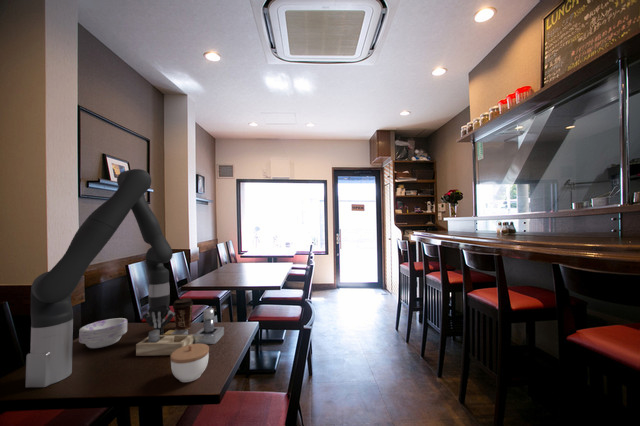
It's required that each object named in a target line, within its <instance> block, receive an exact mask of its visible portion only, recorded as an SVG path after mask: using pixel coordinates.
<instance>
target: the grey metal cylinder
mask: <svg viewBox="0 0 640 426" xmlns="http://www.w3.org/2000/svg"><path fill="white" fill-rule="evenodd" d="M203 327H204V334H213V333H214V327H215V308H213V307H210V308H208V307H207V308H205V309H203Z"/></svg>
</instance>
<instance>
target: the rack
mask: <svg viewBox="0 0 640 426" xmlns="http://www.w3.org/2000/svg"><path fill="white" fill-rule="evenodd" d="M190 344H193V335H164V334H162V335H160V330H155V329H152V330H150V331H148V336H147V337H145V338H144V339H142V340H141V341H139V342H137V343H136V344H135V356H140V357H141V356H142V357H143V356H171V354H172V353H173V352H174V351H175V350H177V349H178V348H181V347H183V346H186V345H190Z"/></svg>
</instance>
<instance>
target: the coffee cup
mask: <svg viewBox="0 0 640 426" xmlns="http://www.w3.org/2000/svg"><path fill="white" fill-rule="evenodd" d="M193 305H194V301H193V300H192V298H189V297H186V298H185V297H184V298H180V299H176V300H175V301H173V304H172V309H173V312H175V315H174V317H173V319H174V323H175V329H174V330H188V331H189V330H190V329H191V327H192V317H193V316H192V315H193Z"/></svg>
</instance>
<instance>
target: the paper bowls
mask: <svg viewBox="0 0 640 426" xmlns="http://www.w3.org/2000/svg"><path fill="white" fill-rule="evenodd" d="M78 332H79V334H78V342H79V343H80V344H85V346H86V347H87V348H88V349H100V348H104V347H108V346H112V345H114V344H116V343H117V342H119V341H120V339H121V338H122V336H123V335H125V334H126V333H127V332H128V319H127V318H123V317H118V318H117V317H116V318H108V319H103V320H98V321H94V322H92V323H88V324H86V325H84V326H82V327H80V328H79V330H78Z"/></svg>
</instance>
